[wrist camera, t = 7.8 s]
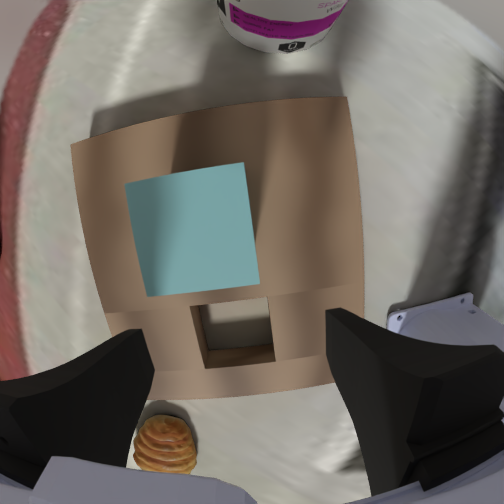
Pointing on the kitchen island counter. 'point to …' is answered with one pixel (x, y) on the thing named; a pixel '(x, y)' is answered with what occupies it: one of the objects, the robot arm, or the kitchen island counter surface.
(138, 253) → the teal block
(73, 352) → the kitchen island counter surface
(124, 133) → the walnut pocket plate
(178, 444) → the pastry
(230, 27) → the supplement can
